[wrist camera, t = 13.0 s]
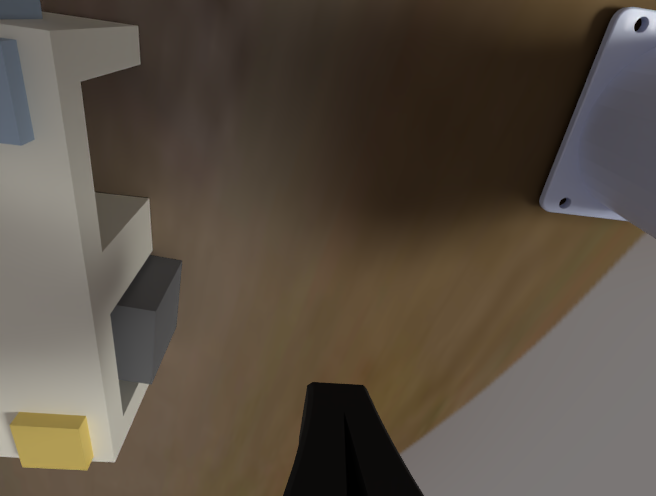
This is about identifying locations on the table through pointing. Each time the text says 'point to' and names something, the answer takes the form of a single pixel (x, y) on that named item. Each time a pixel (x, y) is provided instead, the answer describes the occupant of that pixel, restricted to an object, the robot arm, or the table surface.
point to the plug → (146, 319)
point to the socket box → (61, 244)
